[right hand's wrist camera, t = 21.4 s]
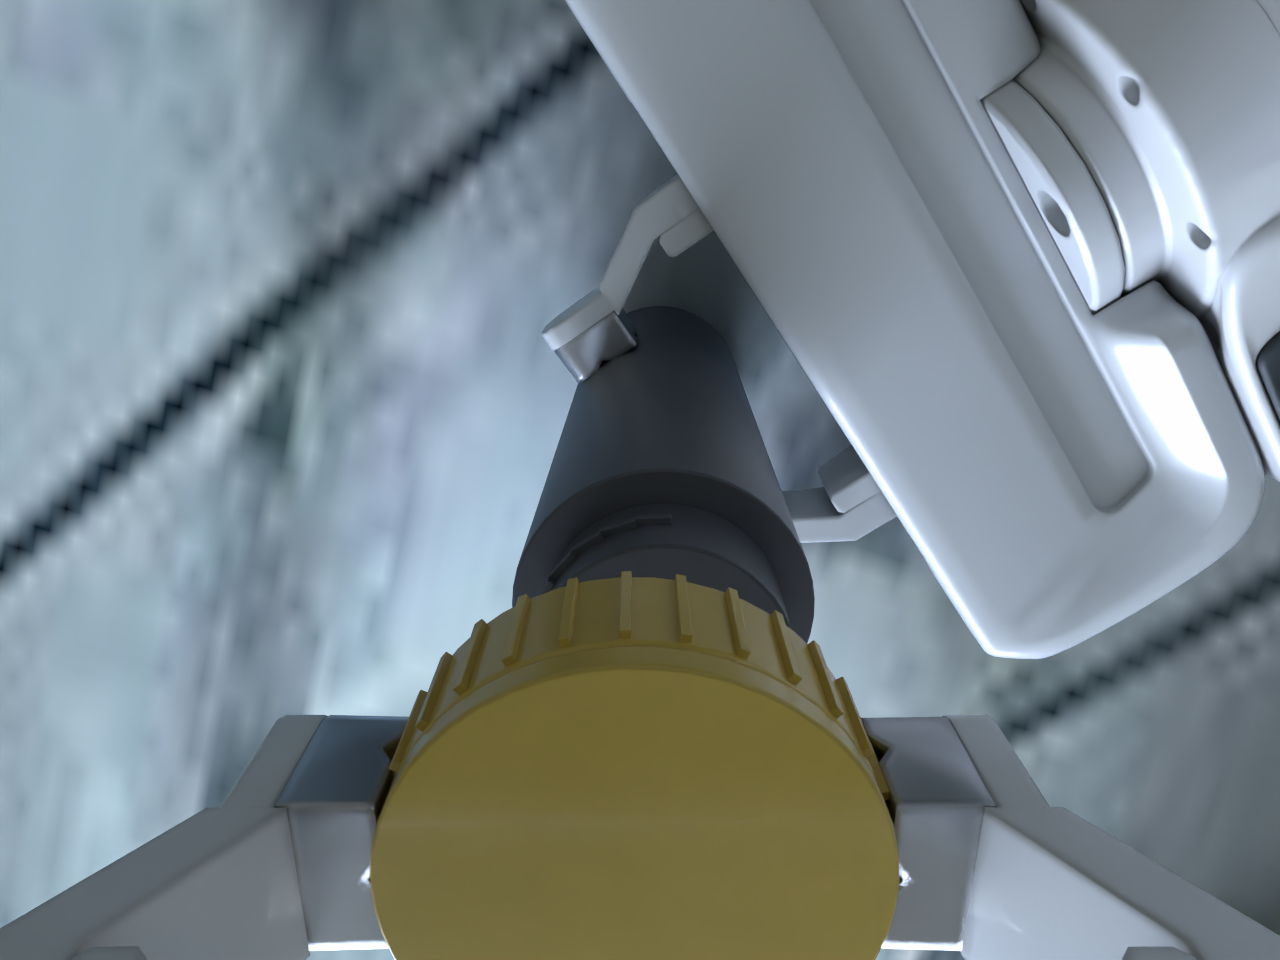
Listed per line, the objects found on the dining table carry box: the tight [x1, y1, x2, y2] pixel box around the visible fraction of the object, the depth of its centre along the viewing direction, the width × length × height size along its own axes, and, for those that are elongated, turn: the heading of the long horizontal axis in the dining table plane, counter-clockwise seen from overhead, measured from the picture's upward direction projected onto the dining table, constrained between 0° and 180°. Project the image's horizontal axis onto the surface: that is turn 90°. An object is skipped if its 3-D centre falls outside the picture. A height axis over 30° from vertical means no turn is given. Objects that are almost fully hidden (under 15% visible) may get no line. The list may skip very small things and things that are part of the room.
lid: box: [370, 571, 900, 960], centre depth 9 cm, size 5×5×2 cm
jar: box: [512, 307, 814, 643], centre depth 20 cm, size 5×5×16 cm
